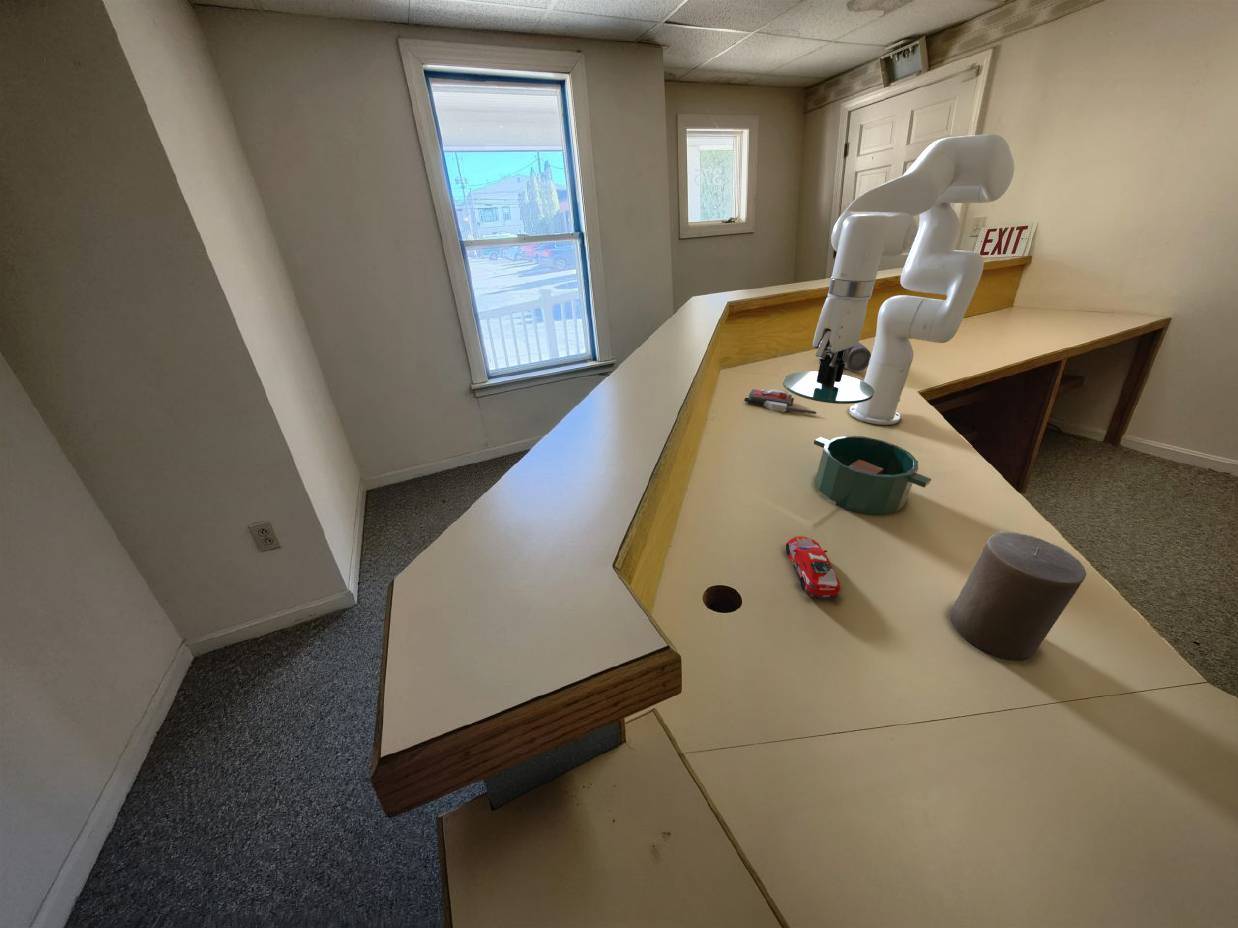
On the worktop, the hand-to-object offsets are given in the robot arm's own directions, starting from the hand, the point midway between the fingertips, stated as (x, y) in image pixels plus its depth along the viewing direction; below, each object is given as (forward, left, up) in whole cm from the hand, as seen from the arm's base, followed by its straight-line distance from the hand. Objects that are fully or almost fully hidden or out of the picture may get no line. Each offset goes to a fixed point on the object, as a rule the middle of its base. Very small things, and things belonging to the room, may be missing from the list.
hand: (828, 381), depth 94 cm
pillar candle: (+23, +42, -19) cm, 52 cm away
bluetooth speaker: (-73, -32, -19) cm, 82 cm away
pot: (+3, +13, -19) cm, 23 cm away
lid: (0, 0, -1) cm, 1 cm away
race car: (+32, +20, -19) cm, 43 cm away
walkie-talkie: (-22, -23, -19) cm, 37 cm away
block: (+3, +13, -19) cm, 23 cm away
